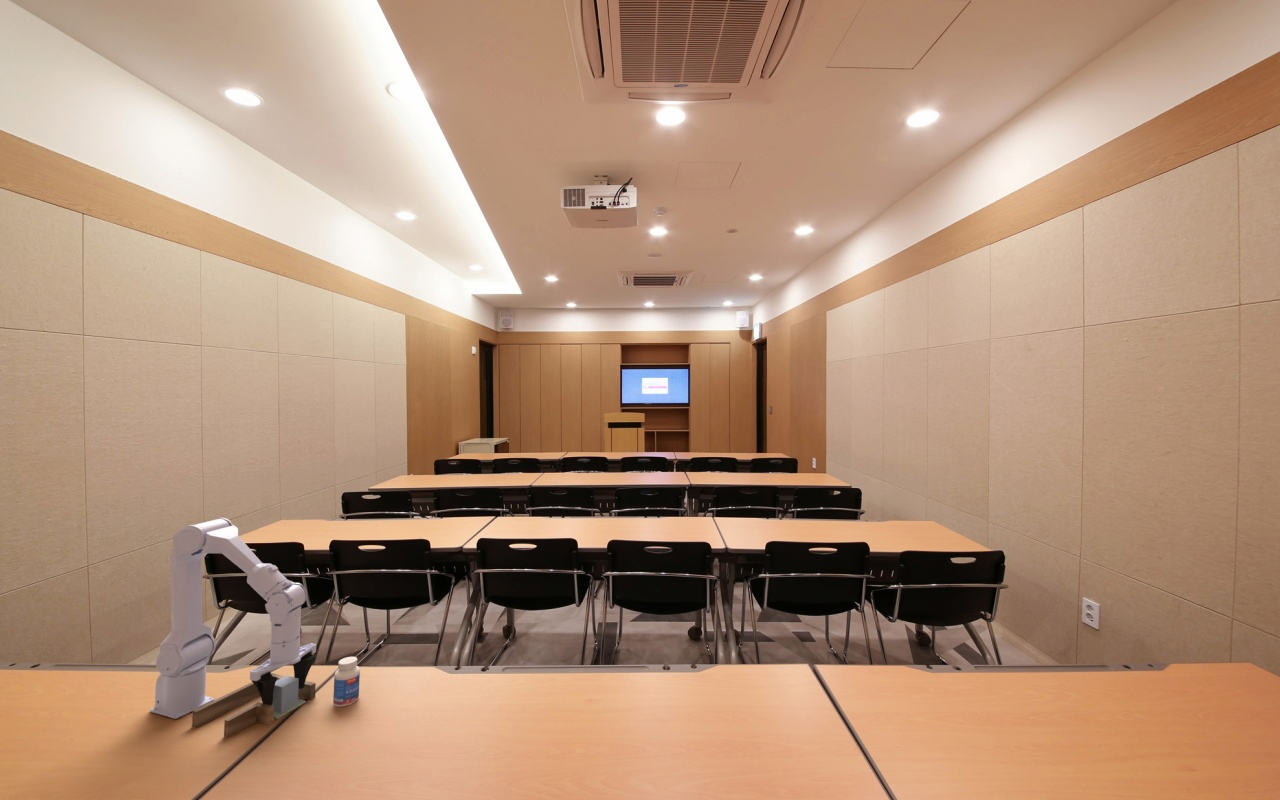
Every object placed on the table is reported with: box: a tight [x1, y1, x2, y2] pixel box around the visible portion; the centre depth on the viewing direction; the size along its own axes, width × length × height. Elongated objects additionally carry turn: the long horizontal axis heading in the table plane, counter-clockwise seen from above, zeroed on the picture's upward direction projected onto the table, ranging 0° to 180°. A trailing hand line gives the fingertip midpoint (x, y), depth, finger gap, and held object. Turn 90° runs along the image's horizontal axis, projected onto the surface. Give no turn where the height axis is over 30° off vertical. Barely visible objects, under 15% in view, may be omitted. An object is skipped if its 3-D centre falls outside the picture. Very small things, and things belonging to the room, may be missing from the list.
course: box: [191, 672, 317, 738], centre depth 116 cm, size 15×17×4 cm
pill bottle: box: [332, 656, 361, 708], centre depth 120 cm, size 6×5×10 cm
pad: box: [274, 698, 307, 720], centre depth 117 cm, size 6×7×1 cm
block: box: [271, 675, 299, 713], centre depth 117 cm, size 4×4×6 cm
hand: (283, 696), depth 117 cm, fingers open, 7 cm apart
